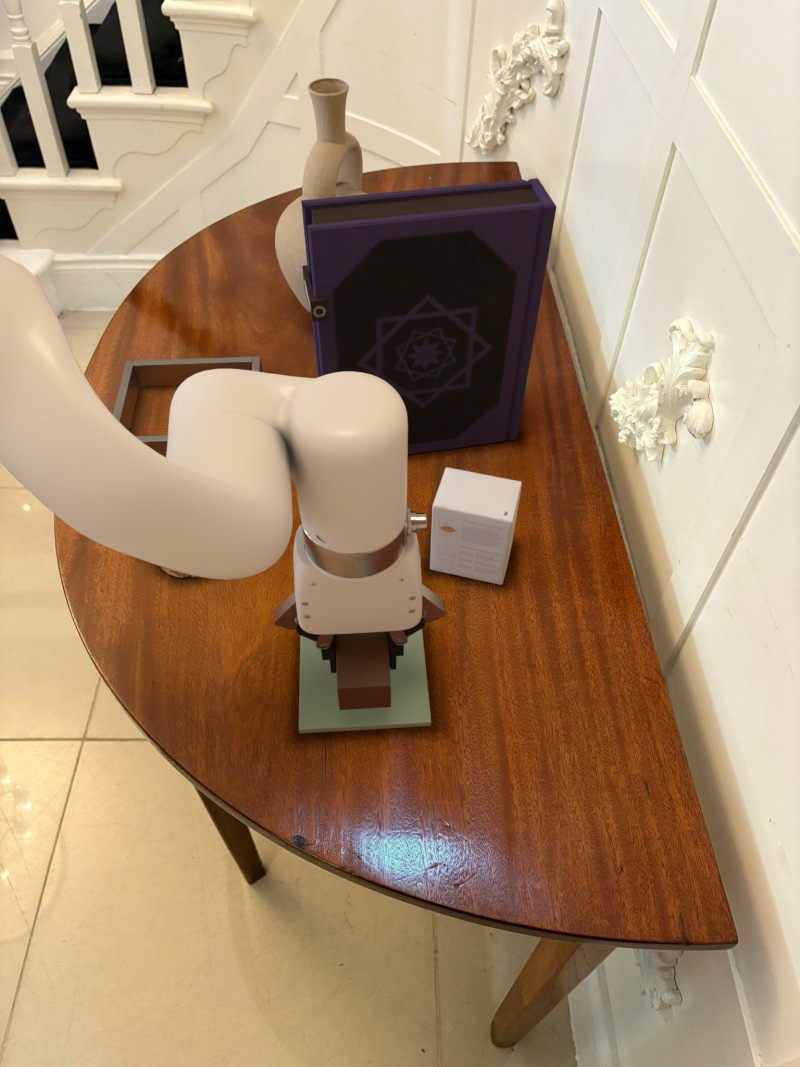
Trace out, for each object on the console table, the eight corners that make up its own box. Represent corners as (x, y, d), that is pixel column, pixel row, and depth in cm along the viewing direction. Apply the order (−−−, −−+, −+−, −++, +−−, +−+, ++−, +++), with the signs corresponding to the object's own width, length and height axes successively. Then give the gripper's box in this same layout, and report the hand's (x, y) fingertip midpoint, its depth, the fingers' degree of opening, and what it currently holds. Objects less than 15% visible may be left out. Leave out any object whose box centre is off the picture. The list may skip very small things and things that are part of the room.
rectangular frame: (113, 464, 92) (105, 443, 89) (133, 382, 101) (126, 360, 99) (258, 458, 93) (254, 437, 90) (264, 377, 102) (260, 356, 99)
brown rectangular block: (339, 710, 67) (336, 688, 64) (337, 614, 74) (335, 590, 71) (391, 707, 68) (390, 685, 65) (385, 611, 74) (384, 587, 71)
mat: (299, 733, 70) (298, 729, 70) (301, 639, 77) (300, 635, 76) (430, 726, 71) (431, 722, 70) (421, 633, 77) (422, 628, 77)
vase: (381, 354, 105) (378, 124, 82) (266, 334, 108) (232, 106, 85) (412, 287, 115) (417, 65, 92) (306, 270, 118) (285, 51, 95)
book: (503, 409, 98) (537, 175, 75) (517, 442, 95) (558, 207, 71) (319, 433, 95) (295, 197, 72) (326, 470, 91) (303, 232, 68)
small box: (512, 547, 84) (524, 480, 76) (502, 587, 81) (514, 522, 73) (440, 531, 86) (445, 464, 77) (427, 570, 82) (431, 504, 74)
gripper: (464, 486, 59) (451, 617, 73) (241, 496, 58) (271, 627, 72) (477, 564, 54) (460, 689, 68) (234, 577, 54) (268, 700, 68)
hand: (363, 656), depth 70 cm, fingers closed on brown rectangular block, 4 cm apart
